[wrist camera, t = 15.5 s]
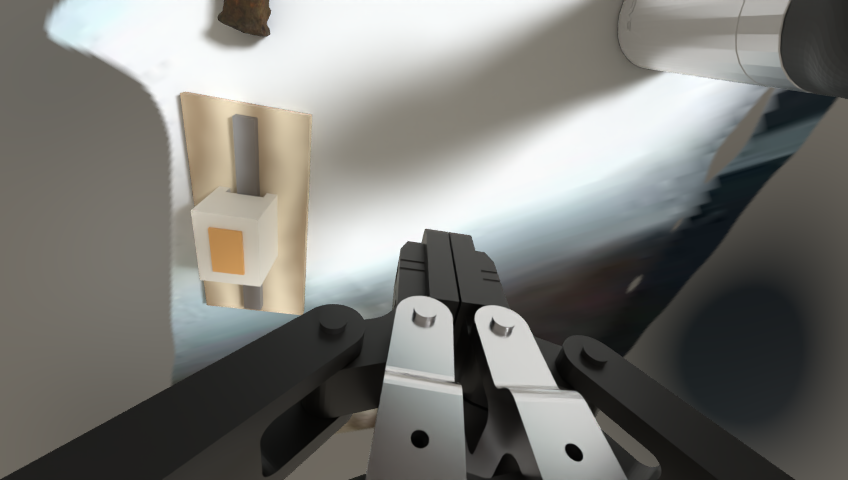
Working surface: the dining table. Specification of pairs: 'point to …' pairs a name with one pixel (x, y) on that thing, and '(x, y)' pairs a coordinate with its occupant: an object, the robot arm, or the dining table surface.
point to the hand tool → (246, 16)
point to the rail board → (255, 186)
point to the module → (235, 237)
